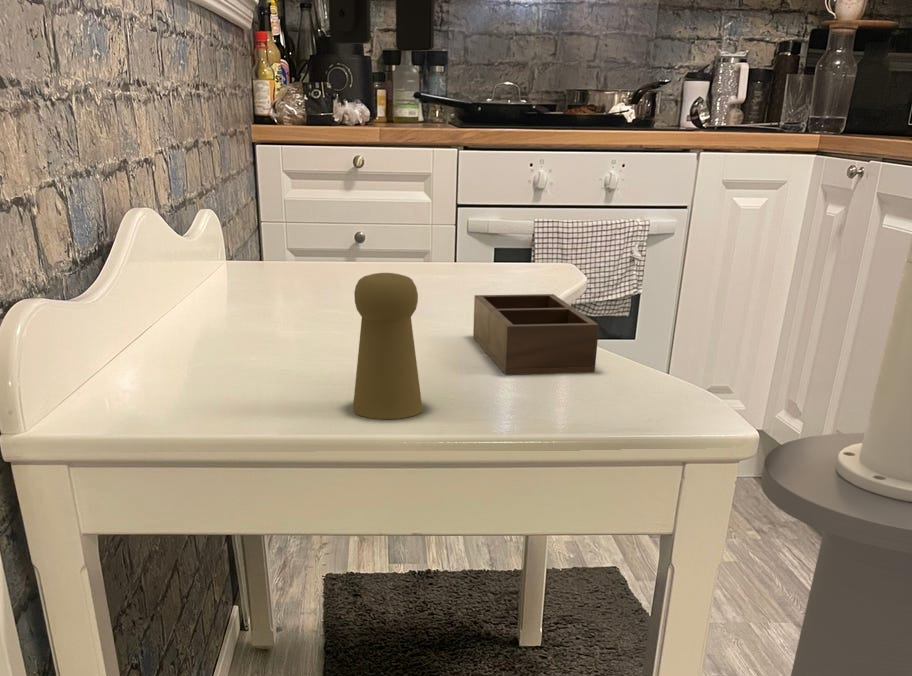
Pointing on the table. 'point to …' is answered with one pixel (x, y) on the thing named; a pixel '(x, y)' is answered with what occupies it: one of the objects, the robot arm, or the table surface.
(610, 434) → the table surface
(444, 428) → the table surface
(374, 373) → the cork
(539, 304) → the divided wooden box
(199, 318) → the table surface
